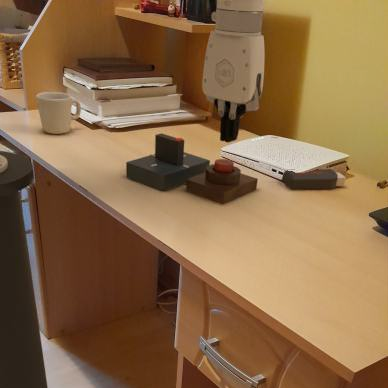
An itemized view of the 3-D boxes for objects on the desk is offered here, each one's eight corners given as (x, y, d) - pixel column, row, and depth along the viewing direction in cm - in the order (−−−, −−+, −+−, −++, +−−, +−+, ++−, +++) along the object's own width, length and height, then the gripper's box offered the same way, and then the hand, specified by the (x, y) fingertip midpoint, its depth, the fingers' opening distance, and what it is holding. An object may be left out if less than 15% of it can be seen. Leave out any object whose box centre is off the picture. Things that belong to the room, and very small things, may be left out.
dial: (154, 157, 104) (155, 133, 101) (160, 156, 105) (161, 131, 102) (177, 165, 101) (178, 140, 98) (183, 163, 102) (184, 138, 99)
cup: (72, 124, 131) (70, 89, 126) (90, 131, 126) (88, 96, 121) (33, 129, 125) (29, 93, 120) (50, 137, 120) (47, 100, 115)
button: (225, 175, 96) (226, 166, 95) (210, 170, 98) (210, 161, 97) (236, 171, 99) (237, 162, 98) (221, 166, 100) (222, 157, 99)
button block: (223, 204, 95) (225, 182, 92) (185, 190, 99) (186, 169, 97) (256, 189, 102) (259, 169, 99) (219, 177, 106) (221, 157, 104)
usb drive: (281, 180, 107) (283, 167, 105) (334, 180, 109) (337, 167, 108) (290, 189, 103) (292, 176, 101) (345, 189, 105) (348, 175, 104)
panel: (164, 191, 98) (164, 174, 96) (125, 177, 103) (125, 160, 101) (209, 174, 107) (210, 159, 105) (172, 162, 112) (172, 147, 110)
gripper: (188, 19, 85) (184, 135, 96) (264, 30, 78) (250, 154, 89) (216, 17, 90) (209, 128, 101) (290, 27, 83) (273, 145, 94)
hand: (228, 140), depth 95 cm, fingers closed
